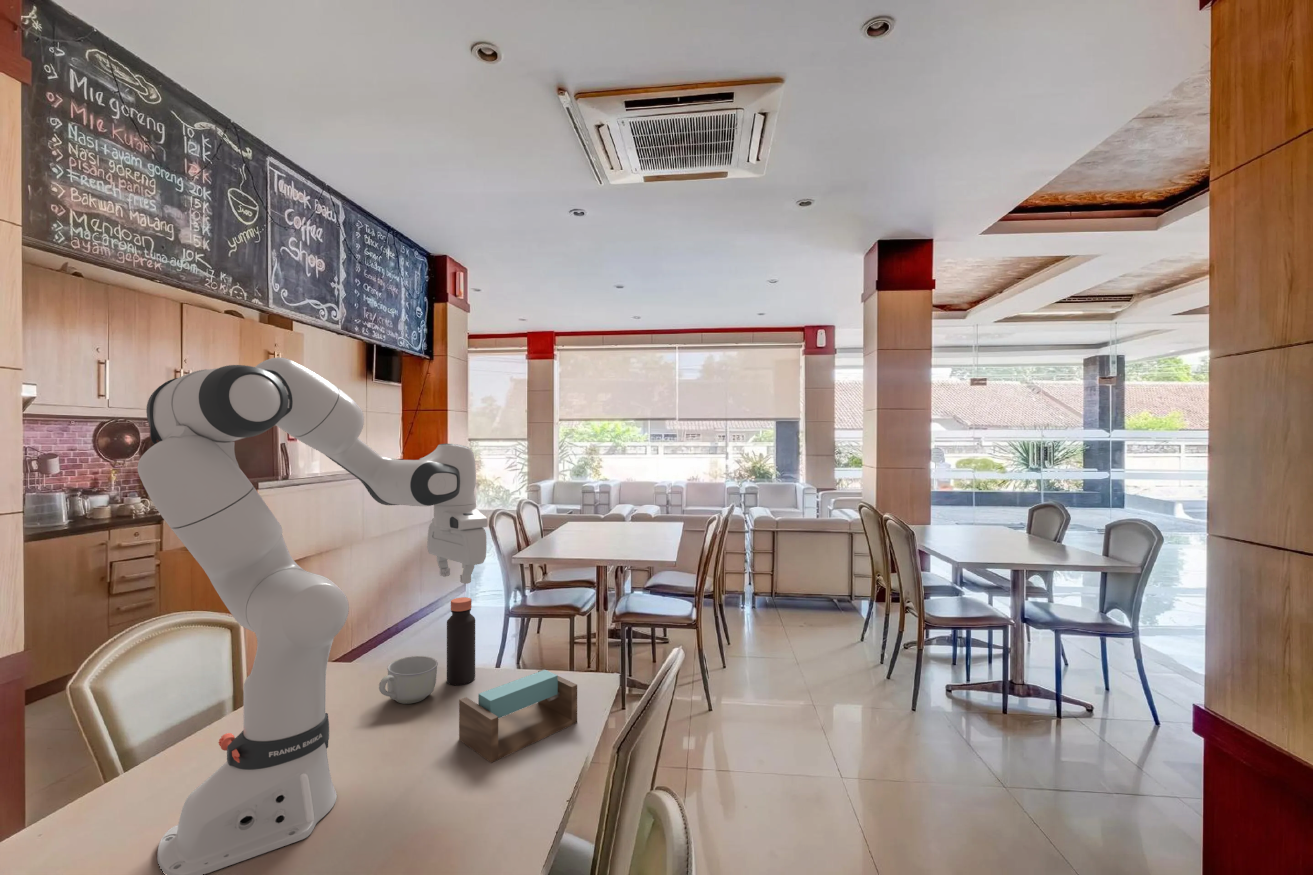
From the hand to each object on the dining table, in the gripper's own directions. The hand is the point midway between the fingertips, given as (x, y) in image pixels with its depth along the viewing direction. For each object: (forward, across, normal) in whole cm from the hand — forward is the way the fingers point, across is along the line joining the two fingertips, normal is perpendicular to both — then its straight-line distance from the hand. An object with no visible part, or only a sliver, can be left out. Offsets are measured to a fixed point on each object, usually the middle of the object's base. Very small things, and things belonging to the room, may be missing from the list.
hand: (454, 579), depth 124 cm
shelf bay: (+29, +18, +5) cm, 35 cm away
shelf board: (+24, +18, +5) cm, 30 cm away
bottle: (+29, -14, +9) cm, 34 cm away
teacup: (+29, -13, -5) cm, 32 cm away
